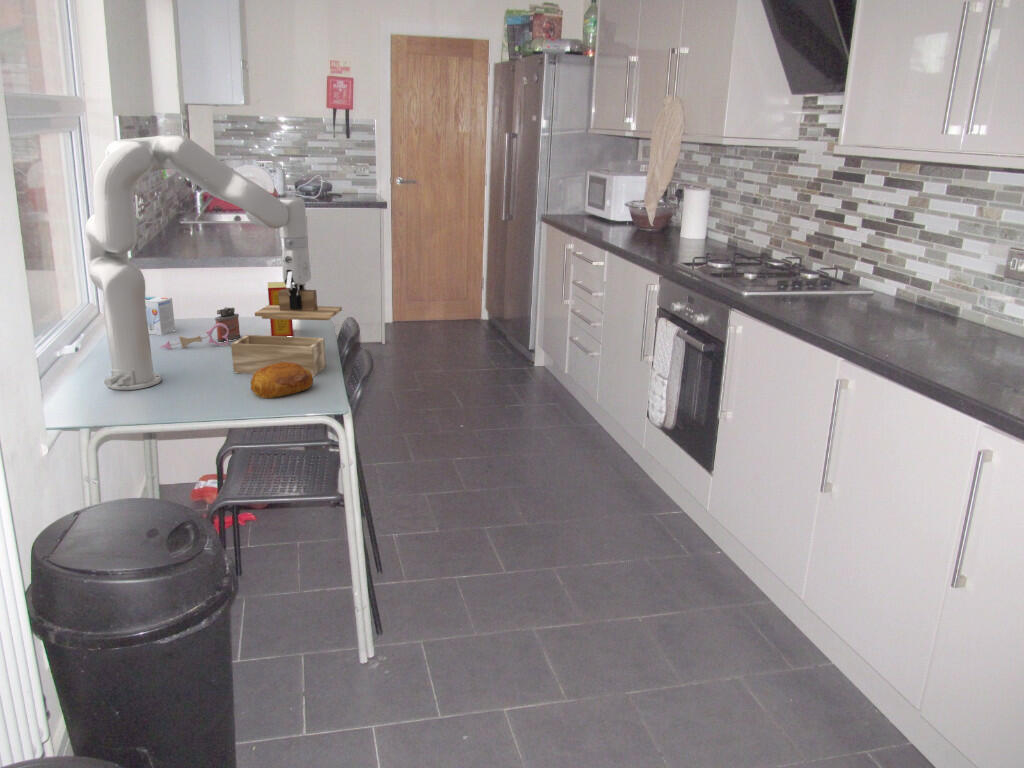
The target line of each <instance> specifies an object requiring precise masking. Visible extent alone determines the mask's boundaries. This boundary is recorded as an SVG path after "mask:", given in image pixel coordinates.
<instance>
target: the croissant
mask: <svg viewBox="0 0 1024 768" xmlns="http://www.w3.org/2000/svg"><path fill="white" fill-rule="evenodd" d="M313 383H314V377H312V374H311V372H310V371H309V370H307V369H304V368H303V367H302V366H301V365H299V364H296V363H289V362H280V363H275V364H272V365H269V366H266V367H263V368H260V369H259V370H258V371H257V372H256V373H254V374H252V377H251V379H250V390H251V391H252V393H254V394H255V395H256V396H258V397H261V398H262V397H263V398H262V399H275V398H279V397H280V398H281V397H285V396H289V395H290V396H291V395H294V394H296V393H300V392H302V391H303V392H304V391H305V390H308V389H310V388H311V387H312V385H313Z"/></svg>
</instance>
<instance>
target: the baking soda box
mask: <svg viewBox="0 0 1024 768" xmlns="http://www.w3.org/2000/svg"><path fill="white" fill-rule="evenodd" d="M282 289H286V285H285V284H284V281H278V282H277V281H275V282H274V281H273V282H272V281H270V282H267V293H268V294H267V295H268V305H279V295H278V291H280V290H282ZM269 321H270V322H269V323H270V336H293V337H294V327H293V319H269Z"/></svg>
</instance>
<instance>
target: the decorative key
mask: <svg viewBox="0 0 1024 768" xmlns="http://www.w3.org/2000/svg"><path fill="white" fill-rule="evenodd" d="M218 326H223V327H225V328H226V330H227V333H226V335H224V336H222V337H223V338H225V339H226V340H227V341H226V342H225V343H218V342H217V340H216V341H215V340H214V338H213V336H212V334H213V332H214V330H215V329H217V327H218ZM228 333H229V330H228V327H227V326H226V325H225V324H221V323H219V324H216V323H215V325H213V326H212V327H211V328H210V329H208V330H206V331H205V334H207V335H204V336H201V334H198V335H197V336H193V337H184V336H180V335H179V337H178V338H179V341H176V342H171V343H170V340H167V342H166V343H164V345H161V346H159V349H160V348H161V349H162V348H163V349H169V350H172V346H176V345H178V346H179V345H181V347H182V349H185V348H186V347H187V346H188V345H190V344H193V343H196V342H200V343H202V342H203V341H202V340H206V339H208V343H209V344H214V345H215V346H217V345H225V346H227V345H228V344H229V342H230V341H229V340H228V338H227V335H228ZM228 341H229V342H228ZM226 344H227V345H226Z"/></svg>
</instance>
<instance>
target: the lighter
mask: <svg viewBox="0 0 1024 768" xmlns="http://www.w3.org/2000/svg"><path fill="white" fill-rule="evenodd" d="M235 310H236V309H235V307H224V308H220V309H217V310H216V314H217V315H219V316H217V317H216V316H215V317H214V321H215V325H216V324H219V323H221V324H225V325H226V326H227V327H228V330H229V333H228V335H227V338H228V340H234V339H237V340H239V339H238V338H240V337H241V333H240V322H239V317H240V316H239V313H235ZM226 333H227V330H226V328H225V327H223V326H218V327H216V334H217V339H216V342H217V341H218V342H224V341H227V340H226V339H225V338H223V337H222V336H224V335H226ZM241 338H242V337H241ZM241 338H240V339H241ZM234 341H235V340H234ZM218 342H217V343H218Z"/></svg>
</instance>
